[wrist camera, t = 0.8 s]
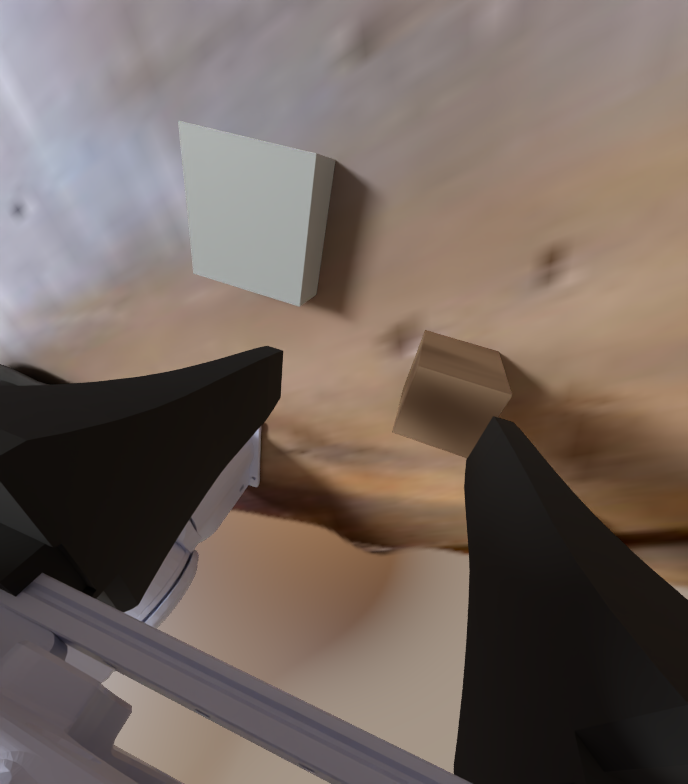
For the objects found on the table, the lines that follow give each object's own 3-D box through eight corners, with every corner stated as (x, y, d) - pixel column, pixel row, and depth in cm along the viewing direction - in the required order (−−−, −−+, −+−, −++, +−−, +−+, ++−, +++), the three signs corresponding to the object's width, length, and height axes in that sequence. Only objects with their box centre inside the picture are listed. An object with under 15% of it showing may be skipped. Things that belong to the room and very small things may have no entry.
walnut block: (466, 408, 20) (470, 459, 16) (403, 387, 21) (392, 432, 17) (498, 351, 18) (512, 395, 14) (425, 329, 18) (418, 365, 14)
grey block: (318, 293, 19) (299, 306, 17) (224, 264, 20) (193, 273, 18) (337, 160, 15) (316, 153, 13) (218, 132, 16) (178, 120, 14)
